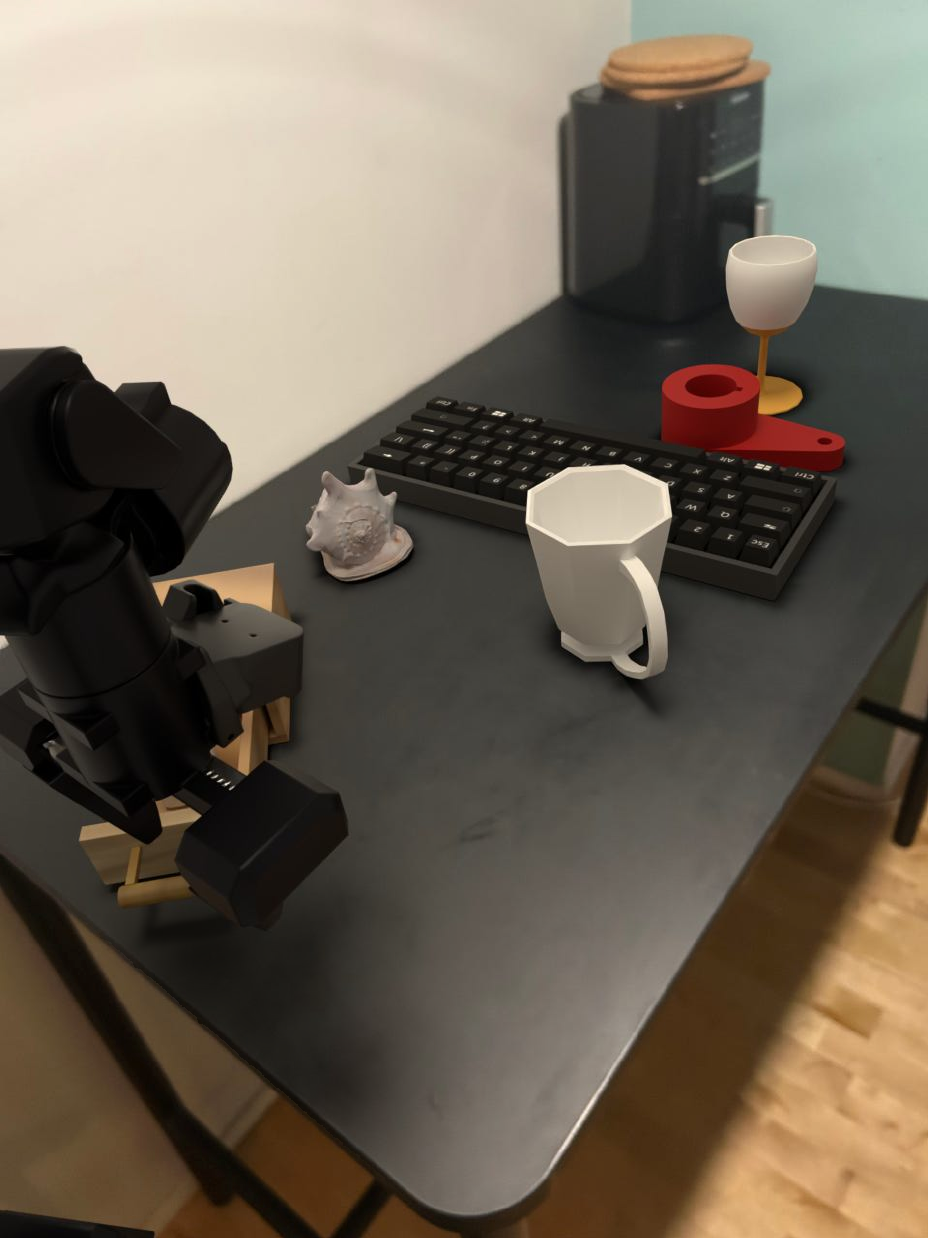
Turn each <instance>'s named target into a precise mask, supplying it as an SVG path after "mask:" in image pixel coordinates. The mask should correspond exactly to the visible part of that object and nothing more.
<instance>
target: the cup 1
mask: <svg viewBox="0 0 928 1238" xmlns="http://www.w3.org/2000/svg"><path fill="white" fill-rule="evenodd" d="M671 519H672V513H671V506H670V498H669V491H668V484H667V483H665V482H663V481H660V480H658V479H656V478H654V477H651V476H649V475H647V474H645V473H642V472H640V471H638V470H636V469H633V468H631V467H629V466H627V465H605V466H587V467H568V468H567V469H565V470H563V471H561V472H560V473H558V474H556V475H554V476H553V477H551V478H549V479H547V480H546V481H544V482H542V483H540V484H539V485H537V486H535V487H534V488H532V489H530V490H528V497H527V512H526V526H527V530H528V534H529V535H528V537H529V540H530V545H531V548H532V551H533V555H534V559H535V562H536V566H537V570H538V574H539V578H540V581H541V585H542V589H543V594H544V597H545V600H546V603H547V605H548V608H549V610H550V612H551V614H552V618H553V620H554V621H555V625H556V627H557V629H558V630H559V631H561V632H560V637H561V638H560V640H561V641H560V644H561V647H562V648H563V649H565V650H566V651H568V652H570V653H571V654H573V655H574V656H576V657H577V658H579V659H580V660H582V661H583V662H585V663H592V662H595V663H596V662H611V663H612V664H613V666H614V667H615V668H616V670H617V671H619V672H620V673H621V674H622V675H624V676H625V677H629V678H632V679H636V680H637V679H638V680H644V679H648V678H651V677H654V676H658V675H659V674H661V673H663V672H665V670H666V665H667V663H668V660H669V659H668V658H669V651H668V647H669V646H668V645H669V644H668V632H667V623H666V615H665V611H664V606H663V603H662V600H661V597H660V593H659V589H658V586H659V581H660V577H661V576H660V575H661V572H662V571H661V566H662V561H663V556H664V552H665V547H666V543H667V539H668V534H669V529H670V524H671ZM645 627H646V631H647V641H648V662H647V664H646V666H643V665H639V664H638V663H637V662H635V661H633V660H632V659H631V657H630V656H629V655H630V654H631V653H633V652H634V651H636V650H637V649H638V648H640V647H641V646H642V645H644V635H643V629H644V628H645Z"/></svg>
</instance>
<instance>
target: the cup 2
mask: <svg viewBox="0 0 928 1238" xmlns="http://www.w3.org/2000/svg"><path fill="white" fill-rule="evenodd" d="M817 273H818V251H817V248H816V245H815V244H814V243H813V242H811V241H809V240H808V239H805V238H801V237H797V236H795V235H781V234H780V235H779V234H774V235H773V234H772V235H759V236H755V237H750V238H745V239H743V240H741V241H738V242H736V243H735V244H733V246H732V247H730V248H729V250H728V254H727V259H726V264H725V288H726V294H727V299H728V300H727V301H728V304H729V309H730V310H731V313H732V315H733V318H734V320H735V322H736V323H738V325H740V326H741V327H742V328H743V329H744V330H745V331H746V332H748V333H749V334H751V335H755V336H758V337H759V338H760V340H759V341H760V343H759V352H758V361H757V362H758V363H757V374H756V375H755V376H756V377H757V378H758V380H759V382H760V395H759V407H758V413H760V414H763V415H767V416H774V415H780V414H785V413H787V412H789V411H791V410H793V409H794V408H796V407H798V406H799V405H800V403H801V402H802V400H803V399H804V397H803V392H802V389H801V388H800V387H799V386H798V385H796V384H795V383H794V381H793V382H792V381H790V380H788V379H784V378H781V377H776V376H772V375H771V376H770V375H766V371H767V361H768V360H767V359H768V351H769V350H768V349H769V339H770V337H771V336H775V335H776V336H777V335H779V334H781V333H783V332H785V331H786V330H787V329H789V328H790V327H791V326H792V325H795V323H796V322H797V321H798V319H799V318H800V316H801V315H802V313H803V312H804V310H805V308H806V307H807V305H808V303H809V300H810V298H811V295H812V292H813V290H814V288H815V283H816V277H817Z"/></svg>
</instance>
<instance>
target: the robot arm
mask: <svg viewBox="0 0 928 1238" xmlns="http://www.w3.org/2000/svg"><path fill="white" fill-rule="evenodd" d="M233 471H234V467H233V459H232V454H231V451H230V449H229V446H228V444H227V443H226V442H225V441H222V439H221V438H220V436H219V435H218V434H217V432H216V431H215V430H214V428H212V426H210V425H209V424H208V423H207V422H206V421H205V420H204V419H202V418H201V417H200V416H197V415H196V414H195V413H193V411H191V410H188V409H186V408H184V407H181V406H179V405H176V404H173V403H172V401H171V398H170V395H169V392H168V389H167V387H166V383H164V382H163V381H161V380H160V381H137V382H122V383H121V384H120V385H119V386H118V388H116V390H115V391H113V389H112V388H110V387H109V386H107V384H104V383H103V382H101V381H99V380H97V379H96V378H95V376H94V374H93V373H92V371H91V370H90V369H89V367H88V365H87V364H86V363H85V362H84V360H83V356H82V355H81V353H80V352H79V351H78V350H77V349H76V348H73V347H69V346H66V345H55V346H54V345H53V346H52V345H51V346H32V347H30V346H29V347H12V348H11V347H9V348H0V637H3V636H4V638H5V640H6V642H7V644H8V646H9V647H10V650H11V651H12V653H13V655H14V657H15V658H16V660H17V661H18V664H19V665H20V667H21V669H22V671H23V672H24V674H25V676H26V678H24V679H23V680H21V681H20V682H18V683H17V684H15V685H14V686H13V687H11V688H9V689H8V690H6V691H5V692H4V693H2V694H1V695H0V748H1V750H2V751H4V753H6V754H8V755H9V756H10V757H12V759H14V760H16V761H17V762H18V763H20V764H21V766H22V767H23V768H24V769H25V770H26V771H27V772H29V773H30V774H32V775H33V776H34V777H36V778H37V779H38V780H40V781H42V783H44V784H45V785H46V786H48V787H49V788H51V789H52V790H54V791H56V793H59V794H61V795H62V796H64V797H66V798H68V799H69V800H71V801H72V802H74V803H75V804H77V805H79V806H81V807H82V808H84V809H86V810H87V811H89V812H90V813H92V814H94V815H96V816H97V817H99V818H100V819H102V820H103V819H104V820H106V821H107V822H109V823H110V824H112V825H114V826H115V827H117V828H119V829H120V830H122V831H124V832H125V833H127V834H129V835H130V836H132V837H134V838H135V839H137V840H139V841H140V842H142V843H144V844H146V845H149V844H151V843H152V842H153V841H154V840H155V839H156V838H158V837H159V836H160V835H161V834H162V831H163V828H162V824H161V820H160V815H159V811H158V808H157V805H156V801H160V800H163V799H165V798H168V797H170V796H173V797H175V798H176V799H178V800H179V801H181V802H182V803H183V804H185V805H186V806H188V807H189V808H191V809H192V810H194V811H195V812H197V813H198V814H200V815H201V817H200V818H198V819H197V820H196V821H195V822H194V823H193V824H192V825H191V826H189V827H188V828H187V829H186V830H185V831H184V834H183V837H182V839H181V842H180V845H179V848H178V850H177V853H176V856H175V859H174V862H175V864H176V866H177V868H178V870H179V872H178V873H180V876H182V877H183V878H184V879H185V880H186V882H187V883H188V884H189V885H190V886H189V887H188V890H189V891H190V892H192V893H193V894H194V895H196V897H197V898H198V899H200V900H201V902H204V903H205V904H206V905H208V906H209V907H210V908H211V909H213V910H214V911H215V912H217V913H218V914H219V915H221V916H222V917H224V918H225V919H226V920H228V921H231V922H233V923H234V924H236V925H237V926H238V927H240V928H245V927H254V928H256V929H258V930H260V931H262V932H267V931H269V930H270V929H271V928H272V927H273V926H274V925H275V924H276V923H277V922H278V921H279V919H280V918H281V917H282V914H283V910H284V909H283V908H284V903H285V901H286V900H287V898H288V897H290V895H292V894H293V892H294V891H295V890H296V889H298V887H299V886H300V885H301V884H302V883H304V881H305V880H306V879H308V877H309V876H310V875H311V874H312V873H313V872H314V871H315V870H316V869H317V868H318V867H319V866H320V865H321V864H322V863H323V862H324V861H325V860H326V858H328V857H329V856H330V855H331V854H332V853H333V852H334V851H335V850H336V849H337V848H338V847H339V846H340V845H341V844H342V843H343V841H345V839H347V838H348V837H349V835H350V834H349V819H348V816H347V813H346V810H345V807H344V803H343V800H342V797H341V794H340V791H337V790H336V789H334V788H332V787H330V786H328V785H327V784H326V783H323V782H322V781H320V780H319V779H317V778H315V777H313V776H311V775H310V774H308V773H306V772H304V771H303V770H301V769H300V768H297V767H296V766H294V765H293V764H291V763H289V762H288V761H286V760H271V759H269V760H268V759H267V760H264V761H263V762H262V763H260V764H259V765H258V766H257V767H256V768H255V769H254V770H253V771H251V772H250V773H249V774H248V775H247V776H246V775H245V774H243V773H241V772H240V771H238V770H237V769H235V768H233V767H232V766H230V765H228V764H227V763H225V762H224V761H222V760H220V759H219V758H217V757H215V756H214V755H212V754H211V752H210V750H211V749H212V748H214V747H215V746H216V745H218V746H220V747H221V748H226V747H227V746H228V745H229V744H230V743H232V742H233V741H234V740H235V739H236V738H237V737H239V736H240V735H241V734H242V733H243V732H244V729H243V727H242V724H241V722H240V719H239V716H238V714H244V713H247V712H250V711H252V710H254V709H257V708H259V707H261V706H263V705H266V704H268V703H270V702H273V701H275V700H277V699H280V698H282V697H287V698H290V699H291V698H293V697H295V696H297V695H299V694H300V693H301V691H302V689H303V669H304V668H303V667H304V640H305V629H304V628H303V627H302V626H301V625H299V624H298V623H295V622H294V621H292V620H291V621H292V622H291V621H289V620H287V619H285V618H283V617H281V616H279V615H276V614H274V613H272V612H270V611H268V610H266V609H264V608H262V607H259V606H257V605H254V604H250V603H240V602H238V601H236V600H234V599H232V598H226V599H224V604H223V602H222V600H221V598H220V596H219V594H218V592H217V591H216V590H215V589H213V588H211V587H209V586H207V585H205V584H203V583H200V582H198V581H196V580H194V579H189V580H186V581H182V582H179V583H175V584H172V585H170V587H169V590H168V592H167V595H166V597H165V600H164V603H163V605H162V606H161V603H160V601H159V598H158V596H157V594H156V591H155V589H154V586H153V584H152V583H153V582H152V579H151V578H152V577H153V578H154V577H157V576H163V575H166V574H168V573H170V572H171V571H174V570H175V569H177V568H178V567H179V566H180V565H181V564H183V562H184V560H185V559H186V557H187V555H188V554H189V552H190V550H191V549H192V547H193V546H194V544H195V542H196V541H197V539H199V538H198V537H199V536H200V534H201V532H202V531H203V529H205V527H206V525H207V523H208V521H209V520H210V518H211V517H212V515H213V513H214V511H215V510H216V508H217V507H218V505H219V503H220V502H221V500H222V499H223V497H224V495H225V494H226V492H227V490H228V488H229V486H230V484H231V482H232V478H233V477H232V476H233ZM155 1235H156V1233H155V1231H154V1230H150V1229H149V1230H148V1229H141V1228H135V1227H130V1226H129V1227H128V1226H122V1225H114V1224H107V1223H100V1222H94V1221H86V1220H79V1219H72V1218H67V1217H66V1218H65V1217H58V1216H53V1215H52V1216H51V1215H44V1214H39V1213H38V1214H37V1213H30V1212H24V1211H17V1210H9V1209H0V1238H155Z"/></svg>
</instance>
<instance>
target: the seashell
mask: <svg viewBox="0 0 928 1238" xmlns="http://www.w3.org/2000/svg"><path fill="white" fill-rule="evenodd" d="M321 484H322V487H323V488H324V489H323V491H322V493H321V496H320V497H319V500H318V503H317V504H315V505H313V506H311V508H310V509H311V510H312V512H313V513H312V516H311V518H310V520H309V521H308V523H307V524H305V531H306V534H308V536H309V538H310V539H309V540H308V541H307V542H306V548H307V549H308V550H309V551H311V552H314V553H315V552H316V553H317V552H320V554H321V556H322V558H323V564H324V568H325V570H326V572H328V574H329V575H331V576H332V577H334V578H335V579H337V580H339V581H342V582H355V581H361V580H364V579H368V578H370V577H373V576H377V575H379V574H381V573H383V572H386V571H388V570H390V569H393V568H394V567H396V566H397V565H398V564H400V563H401V562H402V561H404V560H405V559H407V558H408V556H409V555H410V553H411V551H412V550H413V548H414V541H413V539H412V538H411V536H410V534H409V533H408V532H407V530H406V529H405V528H403V527H402V526H400V525H398V524H395V522H394V521H395V520H394V509H395V506H396V502H397V500H396V499H397V493H396V492H392V493H391V494H390V495H388V496H383V495H382V494H381V493H380V492H379V490H378V486H377V481H376V476H375V472H374V470H373V469H372V468H369V469H367V470H366V472H365V479H364V480H363V481H361V482H360V483H358V484H356V485H351V484H345V483H343V482H342V481H340V480H339V479H338V478H337V477H335V476H334V475H333V474H332V473H331V472H330V471H328V470H326V471H324V472H323V473H322V475H321Z"/></svg>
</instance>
